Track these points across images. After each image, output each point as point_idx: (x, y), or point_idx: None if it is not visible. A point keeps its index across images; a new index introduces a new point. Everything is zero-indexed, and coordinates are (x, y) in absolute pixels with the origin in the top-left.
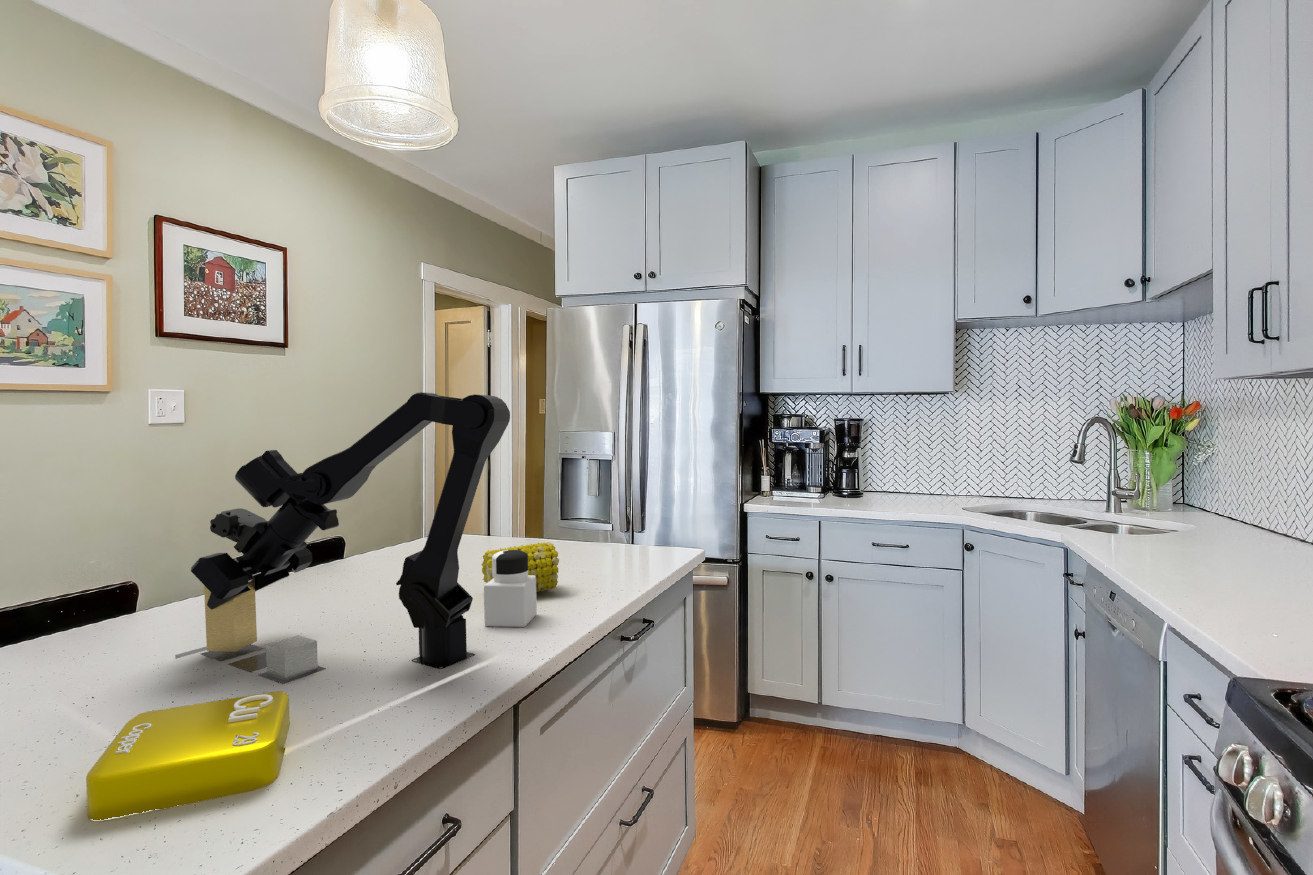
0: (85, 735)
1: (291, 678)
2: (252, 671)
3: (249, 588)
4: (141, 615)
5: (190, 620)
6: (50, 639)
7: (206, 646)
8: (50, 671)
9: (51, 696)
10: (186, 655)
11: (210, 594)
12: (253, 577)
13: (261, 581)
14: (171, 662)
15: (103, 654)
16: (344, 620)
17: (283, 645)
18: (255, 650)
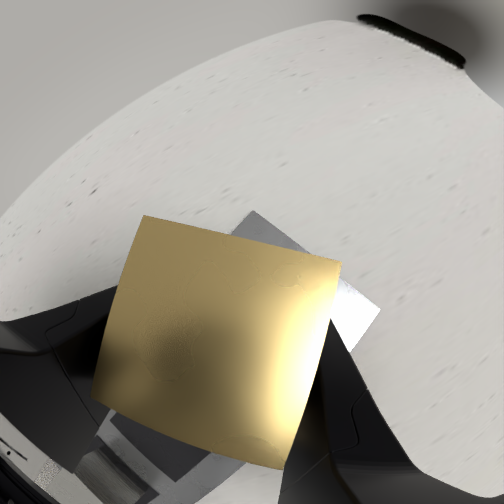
0: (3, 264)
1: None
2: (112, 423)
3: (70, 471)
4: (460, 80)
5: (466, 141)
6: (362, 32)
7: (304, 251)
8: (230, 74)
9: (121, 135)
10: (243, 237)
11: (113, 287)
12: (272, 465)
13: (290, 481)
14: (228, 218)
15: (299, 90)
16: (450, 466)
17: (65, 490)
18: None
